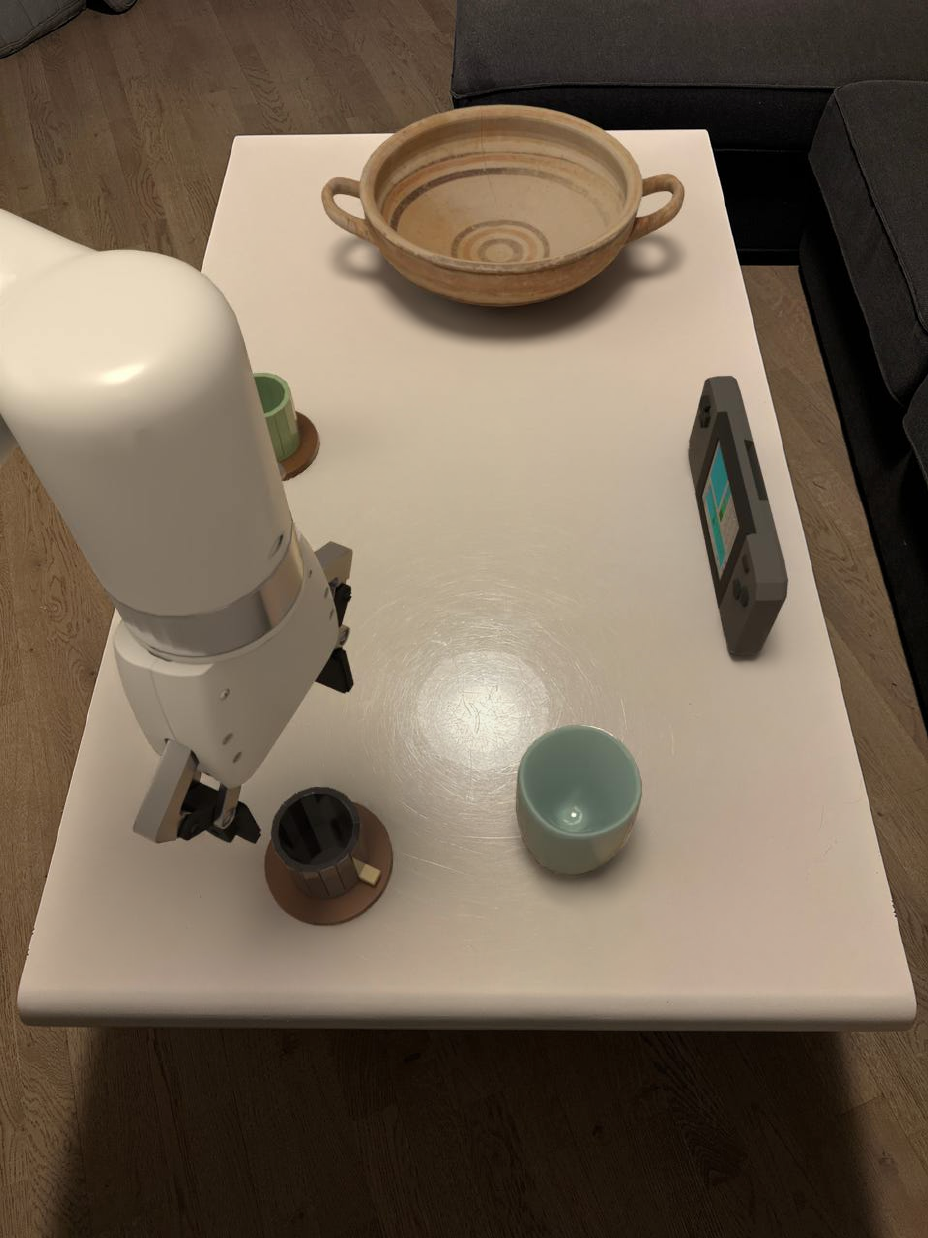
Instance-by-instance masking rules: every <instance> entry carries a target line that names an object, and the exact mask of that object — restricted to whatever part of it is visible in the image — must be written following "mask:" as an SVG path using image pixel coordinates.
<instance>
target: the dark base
mask: <svg viewBox="0 0 928 1238" xmlns="http://www.w3.org/2000/svg"><path fill="white" fill-rule="evenodd" d="M351 801H352V802H353V803H354V805H355V806H356V807H357V811H358V814H359V817H360V820H361V824H362V827H363V830H364V834H365V837H366V840H367V844H368V847H369V863H368V865H370V866H372V867H374V868H376V869H378V870H380V871H381V875H380V876H379V878H378V880H377V882H376V884H375V885H371V884H369V883H367V882H365V881H363V880H361V881H360V882H359V883H358V885H356V886H355V887H354V888H353V889H352V890H351V891H349V892H348V893H346V894H344V895H342V896H339V897H336V898H332V899H317V898H313V897H310V896H308V895H306V894H304V893H302V892H301V891H300V890H299V889H297V887H296V886H295V885H294V884H293V882H292V881H291V879H290V878H289V877H288V875H287V873H286V871H285V869H284V868H283V866H282V864H281V862H280V860H279V859H278V857H277V855H276V853H275V851H274V848H273V844H272V840H271V838H270V839H269V840H268V843H267V846H266V850H265V855H264V862H263V870H264V879H265V882H266V885H267V889H268V891H269V892H270V894H271V897H272V898H273V900H274V901H275V902H276V904H277V905H278V907H279V908H280V909H281V910H283V912H284V913H286V914H287V915H288V916H290V917H291V918H293V919H294V920H296V921H298V922H301V923H304V924H306V925H311V926H317V927H331V926H337V925H342V924H345V923H349V922H350V921H353V920H355V919H357V918H359V917H360V916H362V915H363V914H365V913H366V912H367V911H369V909H371V908H372V907H373V906H374V905H375V904H376V903H377V902H378V901H379V899H380V898H381V897H382V895H383V894H384V892H385V890H386V889H387V886H388V884H389V882H390V879H391V876H392V871H393V864H394V851H393V845H392V842H391V838H390V835H389V833H388V830H387V828H386V826H385V825H384V824H383V822H382V820H380V818H379V817H378V816H377V815H376V814H375V813H374V812H373V811H372V810H371V809H370V808H368V807H366V806H365V805H363V804H361V803H358V802H356V801H353V800H351Z"/></svg>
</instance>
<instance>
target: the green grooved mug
mask: <svg viewBox="0 0 928 1238" xmlns="http://www.w3.org/2000/svg"><path fill="white" fill-rule="evenodd" d="M253 375H254V379H255V383H256V386H257V390H258V394H259V398H260V401H261V405H262V409H263V412H264V416H265V420H266V423H267V427H268V431H269V435H270V438H271V442H272V446H273V449H274V453H275V457H276V460H277V461H278V462H281V461H283V460H285V459H287V458H289V457H290V456H291V455H293V454H294V453H295V452H296V450H297V449H298V447H299V445H300V441H301V436H300V429H299V425H298V421H297V416H296V412H295V411H296V408H295V404H294V400H293V395H292V391H291V387H290V386H289V384H288V382H287V381H286V380H285V379H284V378H282V377H281V376H279V375H277V374H273V373H269V372H253Z"/></svg>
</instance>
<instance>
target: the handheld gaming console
mask: <svg viewBox="0 0 928 1238" xmlns="http://www.w3.org/2000/svg"><path fill="white" fill-rule="evenodd" d="M700 394H701V395H700V397H699V402H698V405H697V409H696V413H695V416H694V422H693V425H692V429H691V433H690V436H689V440H688V460H689V465H690V471H691V476H692V480H693V486H694V491H695V493H694V494H695V500H696V504H697V509H698V514H699V519H700V524H701V528H702V535H703V539H704V545H705V550H706V554H707V559H708V563H709V568H710V573H711V578H712V583H713V589H714V594H715V598H716V604H717V608H718V610H719V614H720V619H721V624H722V628H723V634H724V638H725V642H726V646H727V649H728V651H729V652H731V653H733V654H736V655H758V654H759V653H760V652H761V651H762V650H763V648H764V646H765V644H766V641H767V639H768V637H769V635H770V634H771V631H772V629H773V627H774V625H775V622H776V620H777V618H778V616H779V613H780V612H781V609H782V608H783V606H784V604H785V601H786V599H787V597H788V585H789V578H788V573H787V572H788V571H787V567H786V563H785V558H784V554H783V550H782V546H781V542H780V538H779V535H778V531H777V527H776V523H775V519H774V514H773V511H772V508H771V503H770V500H769V496H768V492H767V488H766V485H765V480H764V476H763V472H762V468H761V464H760V461H759V457H758V454H757V449H756V445H755V442H754V438H753V433H752V430H751V426H750V423H749V418H748V414H747V411H746V406H745V402H744V399H743V395H742V391H741V389H740V385H739V382H738V379H736V378H735V377H734V376H732V375H718V376H712V377H708V378H707V379H705V380H704V383H703V386H702V390H701V393H700Z"/></svg>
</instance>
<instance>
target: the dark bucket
mask: <svg viewBox="0 0 928 1238" xmlns="http://www.w3.org/2000/svg"><path fill="white" fill-rule="evenodd" d="M352 801H353V800H351V799H350V797H349V796H348V795H347V794H345V793H344V792H342V791H339V790H336V789H334V788H333V787H330V786H311V787H308V788H305V789H302V790H299V791H296V792H295V793H293V794H292V795H291V796H289V798H287V799H286V800H285V801H283V803H281V804H280V806H279V808H278V809H277V811H276V813H275V815H274V816H273V819H272V824H271V828H270V839H271V840H272V844H273V848H274V851H275V853H276V855H277V857H278V859H279V860H280V862H281V864H282V866H283V868H284V869H285V871H286V873H287V875H288V877H289V878H290V879H291V881H292V882H293V884H294V885H295V886H296V887H297V889H299V890H300V891H301V892H302V893H304V894H306V895H308V896H310V897H313V898H317V899H332V898H336V897H339V896H342V895H344V894H346V893H348V892H349V891H351V890H352V889H353V888H354V887H355V886H356V885H358V883H359V882H360V881H361V880H363V881H365V882H367V883H369V884H371V885H375V884H376V882H377V880H378V878H379V876H380V875H381V871H380V870H378V869H376V868H374V867H372V866H370V865H368V863H369V847H368V844H367V840H366V837H365V834H364V830H363V827H362V824H361V820H360V817H359V814H358V811H357V807H356V806H355V805H354V803H353V802H354V801H353V802H352Z"/></svg>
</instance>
